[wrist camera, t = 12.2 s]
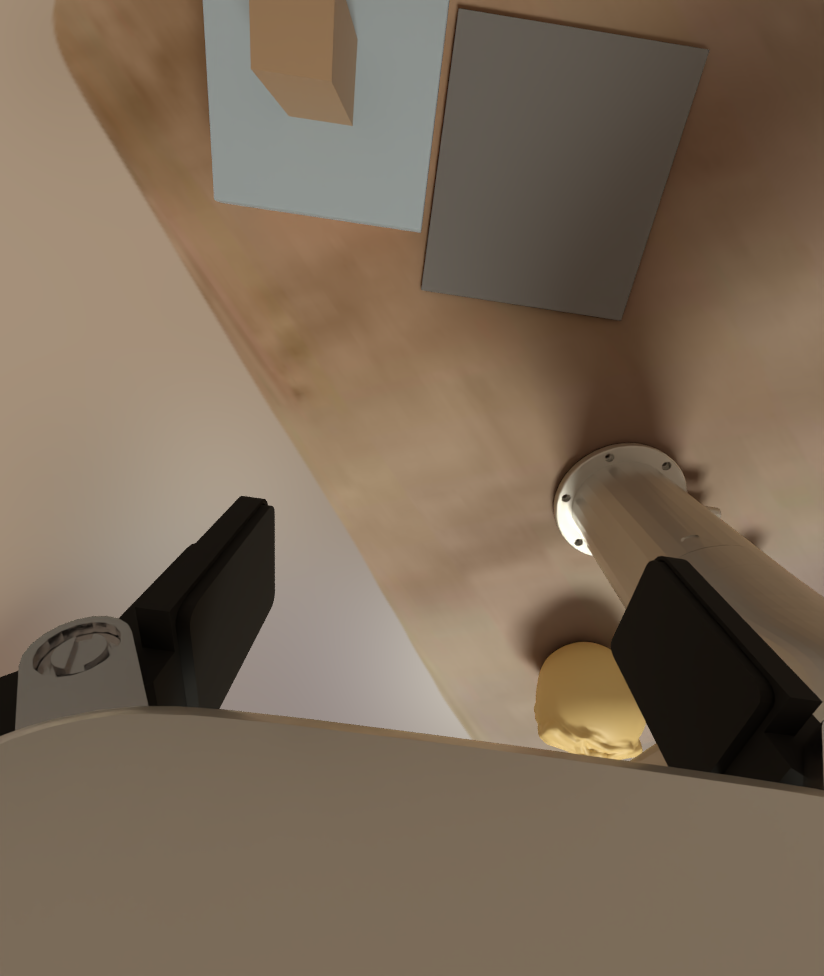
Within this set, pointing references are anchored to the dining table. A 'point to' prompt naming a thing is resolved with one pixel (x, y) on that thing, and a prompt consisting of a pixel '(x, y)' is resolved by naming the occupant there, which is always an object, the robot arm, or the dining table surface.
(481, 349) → the dining table surface
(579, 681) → the sculpture
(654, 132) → the mat
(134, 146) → the dining table surface
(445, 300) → the dining table surface
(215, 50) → the lid
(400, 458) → the dining table surface
